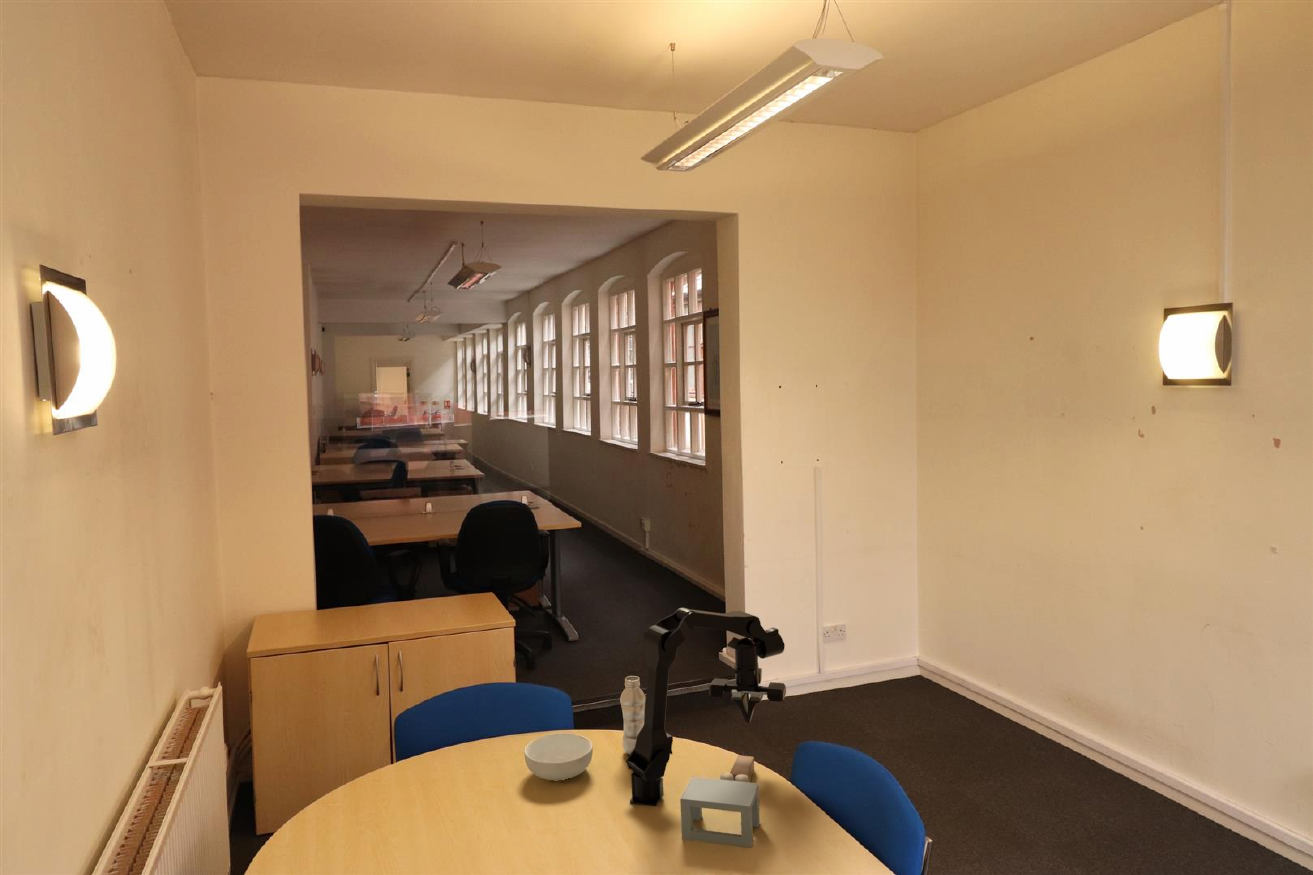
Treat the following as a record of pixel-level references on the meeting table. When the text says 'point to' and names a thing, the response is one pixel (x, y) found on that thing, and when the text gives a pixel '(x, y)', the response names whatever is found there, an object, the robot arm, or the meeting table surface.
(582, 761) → the cereal bowl
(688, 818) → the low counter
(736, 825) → the meeting table surface
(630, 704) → the plastic bottle
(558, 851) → the meeting table surface
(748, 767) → the glasses tray
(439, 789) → the meeting table surface
